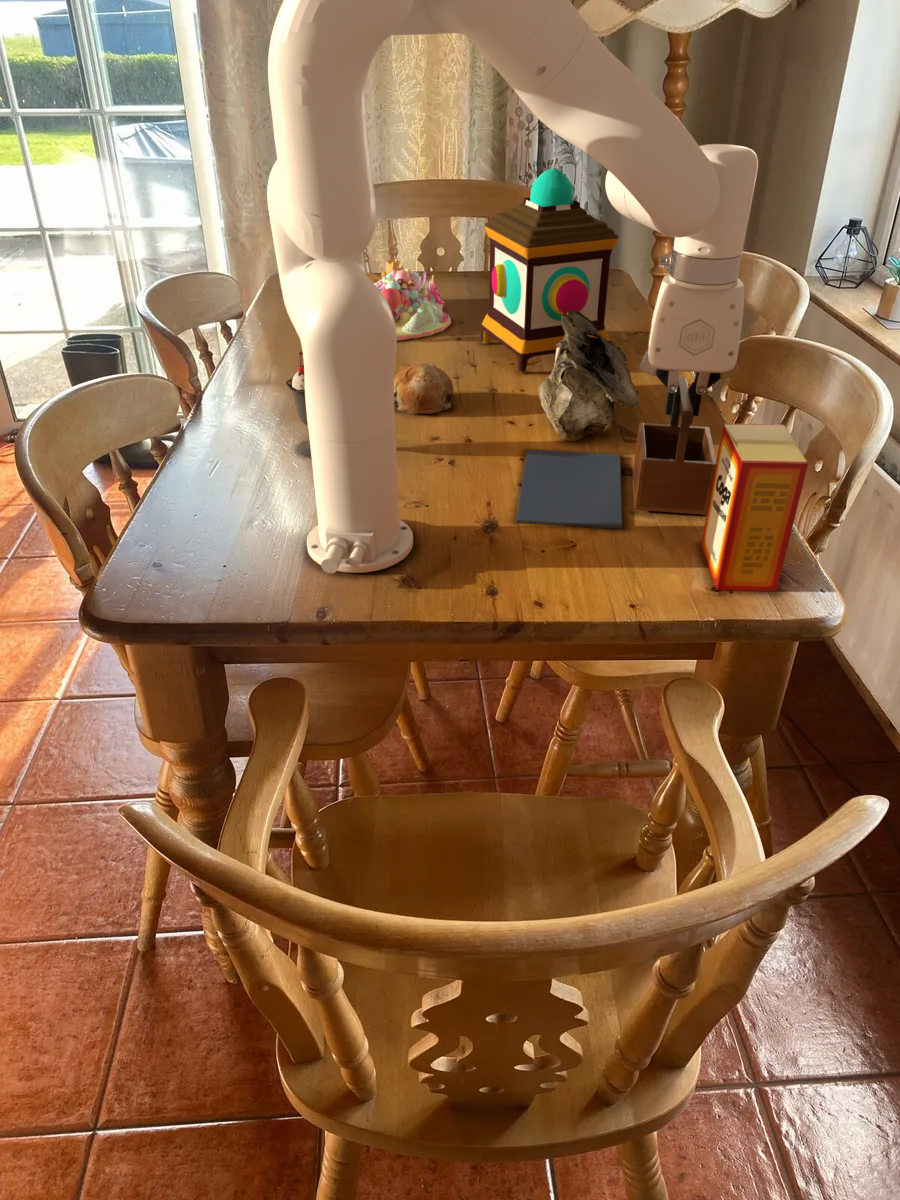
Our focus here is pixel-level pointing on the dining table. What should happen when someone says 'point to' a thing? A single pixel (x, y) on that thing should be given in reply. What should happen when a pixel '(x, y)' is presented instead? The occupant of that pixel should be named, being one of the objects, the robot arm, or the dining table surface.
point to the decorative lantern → (545, 269)
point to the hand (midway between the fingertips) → (680, 419)
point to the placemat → (571, 489)
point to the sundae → (300, 400)
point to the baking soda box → (752, 506)
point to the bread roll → (422, 390)
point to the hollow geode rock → (585, 381)
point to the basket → (674, 463)
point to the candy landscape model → (411, 301)
